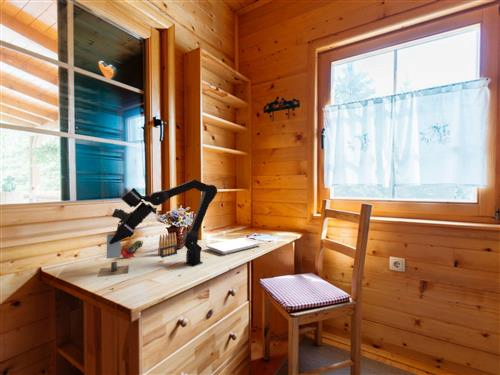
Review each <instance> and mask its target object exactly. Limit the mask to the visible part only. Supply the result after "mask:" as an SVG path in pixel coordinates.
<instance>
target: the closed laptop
mask: <svg viewBox="0 0 500 375" xmlns="http://www.w3.org/2000/svg"><path fill="white" fill-rule="evenodd" d="M261 244H263V241H260V240H256V239H252V238H247V237H239V238H235V239H229V240H225V241H220V242H215V243H209V244H206V245H205V247H207V248H208V249H209V250H212V252H215V253H218V254H220V255H221V254H222V255H228V254H232V253H236V252H240V251H244V250H248V249H252V248H255V247H256V248H257V247H258V246H260V245H261Z"/></svg>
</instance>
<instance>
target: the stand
mask: <svg viewBox="0 0 500 375" xmlns="http://www.w3.org/2000/svg"><path fill="white" fill-rule="evenodd" d="M110 264H111V266H108V267H102V268H100V269H99V272H98V275H97V278H101V277H109V276H117V275H126V274H129V268H130V265H129V264H128V265H121V266H118V262H117V261H111V262H110Z"/></svg>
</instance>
